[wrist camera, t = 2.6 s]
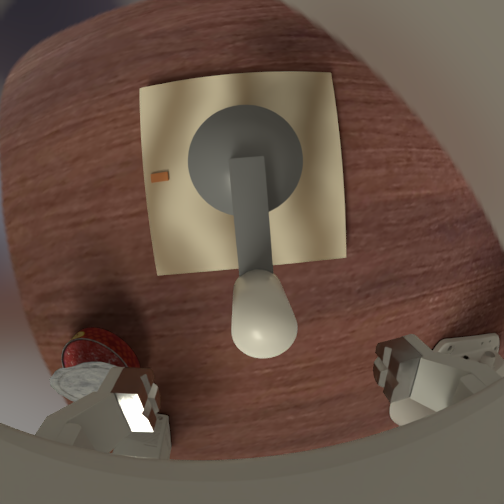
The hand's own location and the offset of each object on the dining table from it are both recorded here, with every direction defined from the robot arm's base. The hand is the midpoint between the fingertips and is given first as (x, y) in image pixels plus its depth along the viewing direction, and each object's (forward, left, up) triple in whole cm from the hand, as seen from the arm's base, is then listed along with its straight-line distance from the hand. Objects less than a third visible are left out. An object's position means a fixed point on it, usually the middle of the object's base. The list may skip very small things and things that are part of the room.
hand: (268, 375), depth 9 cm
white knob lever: (0, -5, -12) cm, 13 cm away
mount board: (0, -8, -19) cm, 21 cm away
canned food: (+19, +12, -19) cm, 30 cm away
